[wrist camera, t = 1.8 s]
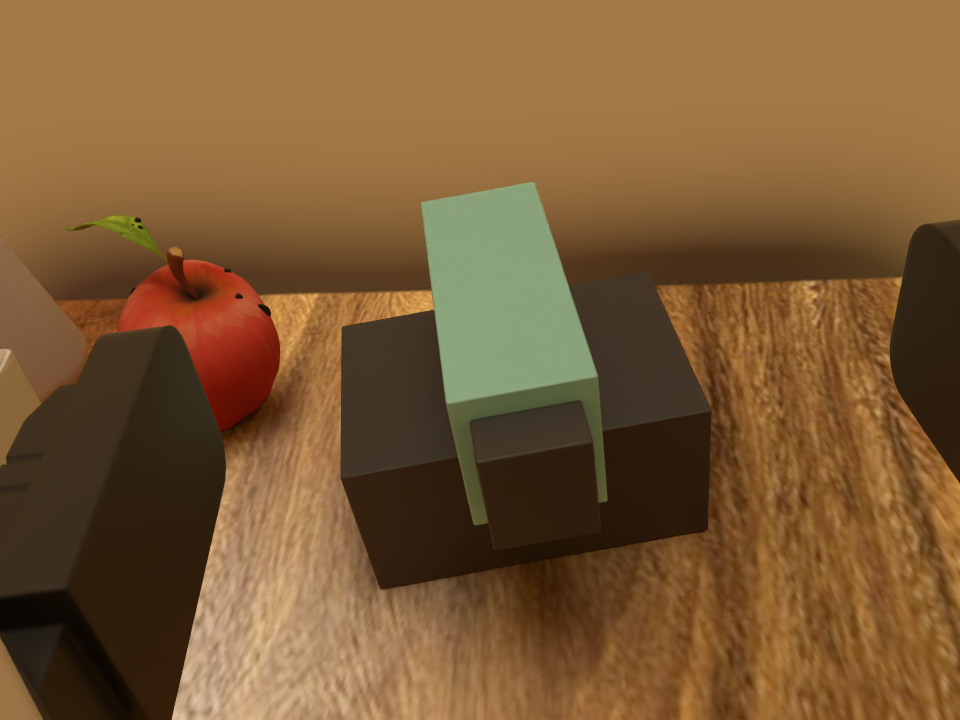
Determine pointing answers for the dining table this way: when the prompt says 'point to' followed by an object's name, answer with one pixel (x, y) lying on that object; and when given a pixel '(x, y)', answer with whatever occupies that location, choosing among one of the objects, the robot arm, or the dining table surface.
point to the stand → (434, 460)
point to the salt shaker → (37, 329)
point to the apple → (206, 323)
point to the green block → (515, 368)
